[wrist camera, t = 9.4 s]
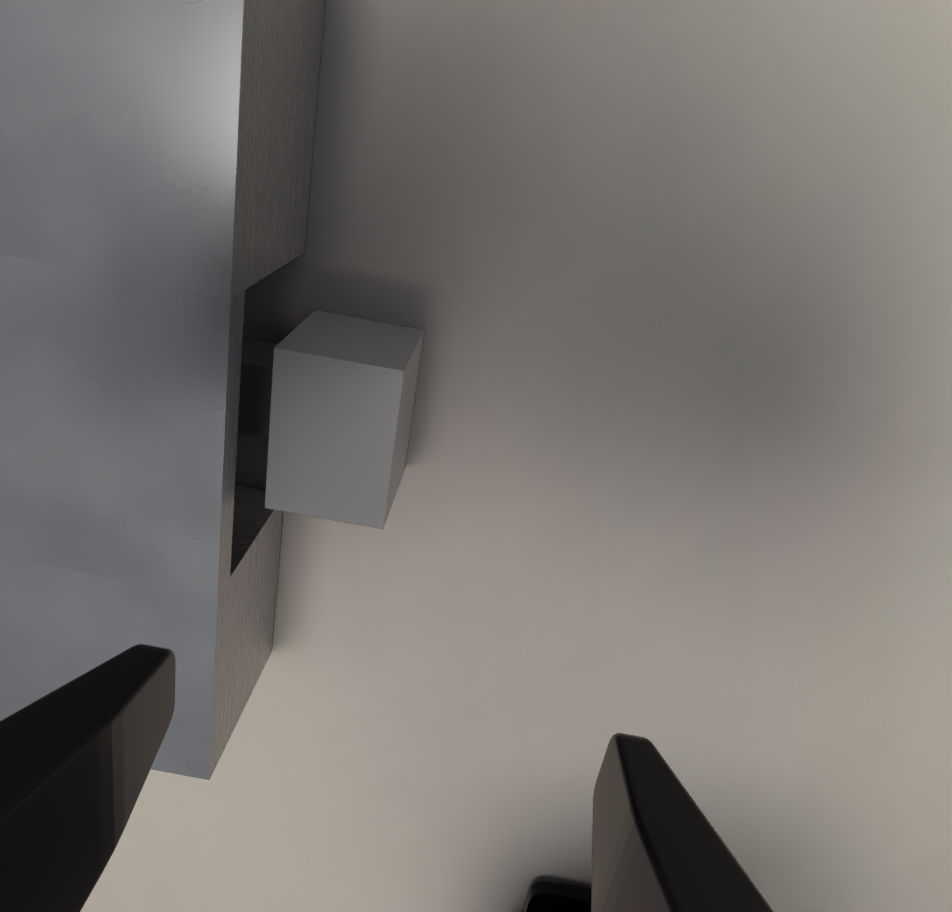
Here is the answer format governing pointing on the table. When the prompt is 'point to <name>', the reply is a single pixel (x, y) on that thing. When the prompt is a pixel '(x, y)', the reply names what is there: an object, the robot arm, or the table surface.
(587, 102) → the table surface
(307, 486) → the plug
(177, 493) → the block
